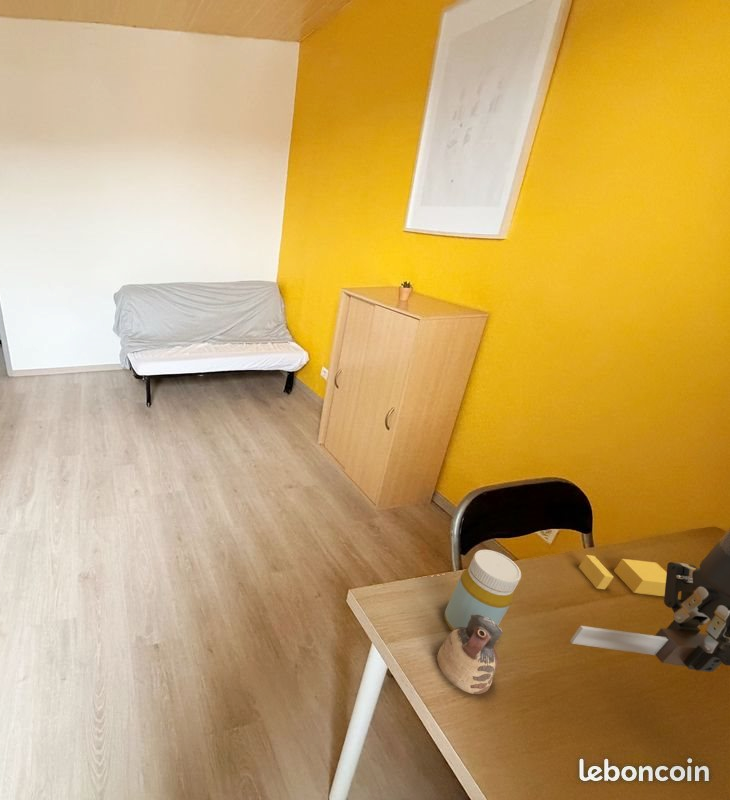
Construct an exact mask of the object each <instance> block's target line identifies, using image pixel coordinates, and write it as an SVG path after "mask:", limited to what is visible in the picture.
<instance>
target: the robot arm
mask: <svg viewBox="0 0 730 800" xmlns="http://www.w3.org/2000/svg"><path fill="white" fill-rule="evenodd" d="M666 572H667V575H666V585H665V595H664V596H663V603H664V605H665V606H666V607H667V608H670V609H671V610H672V611H673V614H672V618H673V620H672V621H671V623H670V624H669V625H668V626H667V627H666V629H672V630H679V631H686V632H694V633H701V629H700V627H702V626H704V625H706V624H707V623H708V622H709V623H708V625H707V626H706V628H705V632H706V634H708V635H707V636H706V638H705V639H704V641H703V642H702V645H698V646H697V647H696V649H695V650H694V651H693V652H692V653H691V654H690V655H689V656H688V657H687V658H686V659H685V661H684V662H683V663H684V664H685V665H686V666H685V667H687V669H688V670H694V671H697V672H698V671H699V672H704V673H713V672H714V671H715V670H716V669H718V667H719V666H720V665H722V664H723V665H725V666H728V667H730V527H729V528H728V529H727V530H726V531H725V533H724V534H723V535H722V537H720V538H719V540H718V542H716V543H715V545H714V546H713V547H712V549H710V551H709V552H708V553H707V554H706V556H705V557H704V558H703V560H702V561H701V562H700V563H699V567H696V566H695V565H694V564H692V563H684V562H683V563H682V562H673V561H669V562H668V563H667V567H666ZM679 593H680V598H679Z"/></svg>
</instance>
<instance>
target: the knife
mask: <svg viewBox="0 0 730 800" xmlns="http://www.w3.org/2000/svg"><path fill="white" fill-rule="evenodd" d="M707 635H708V633H701V632H699V633H694V632H686V631H679V630H672V629H667V628H664V627H661V628H660V629H659V630H658V631H657V633H655V635H652V634H645V633H638V632H631V631H622V630H616V629H609V628H601V627H593V626H588V625H587V626H586V625H580V626H579V628H578V629H577V630H576V631H575V633H574V634H573V636H572V637H571V638H570V640H569V641H570V643H571V644H572V645H573V644H574V645H580V646H587V647H595V648H601V649H608V650H615V651H623V652H630V653H636V654H644V655H651V656H655V657H656V658H657V659H658V661H660V663H662V664H667V665H675V666H680V667H687V666H686V665H685V664H684V663H683V662H684V661H685V659H686V658H687V657H688V656H689V655H690V654H691V653H692V652H693V651H694V650H695V649H696V647H697V646H698V645H702V642H703V641H704V639H705V638H706V636H707Z"/></svg>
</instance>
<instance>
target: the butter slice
mask: <svg viewBox="0 0 730 800" xmlns="http://www.w3.org/2000/svg"><path fill="white" fill-rule="evenodd" d="M578 569H579V570H580V571H581V572H582V573H583V574H584V576H585V577H586V578H587V580H589V581H590V582H591V584H592V585H593V586H594V587H595V588H596V589H599V590H606V589H607V587H608V586H609V585H610V583H611V582H612V580H613V579H614V575H612V573H611V572H610V571H609V570H608V569H607V568H606V567H605V566H604V565H603V564H602V562H601V561H600V560H599V559H598V558H597V557H596V555H591V554H585V556H584V558H583V559H582V561H581V562H580V564H579V566H578Z"/></svg>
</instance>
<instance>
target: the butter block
mask: <svg viewBox="0 0 730 800" xmlns="http://www.w3.org/2000/svg"><path fill="white" fill-rule="evenodd" d="M613 572H614V573H615V574H616V575H617V576H618V577H619V579H621V581H622V582H623V583H624V584H625V585H626V586H627V588H629V590H630V591H631V592H632V593H634V594H641V595H649V596H650V595H651V596H659V597H664V595H665V585H666V575H667V570H665V569H664V568H663V567H662V566H661V565H660V564H659V563H658V562H654V561H646V560H638V559H637V560H636V559H628V558H621V559H620V561H619V562H618V564H617V565H616V567H615V568H614V569H613Z"/></svg>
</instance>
